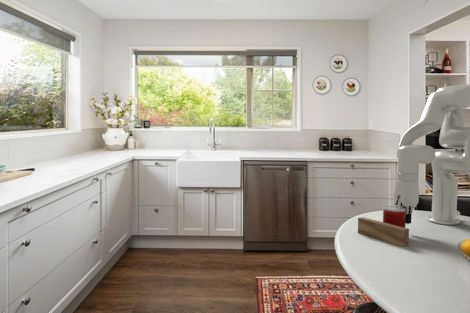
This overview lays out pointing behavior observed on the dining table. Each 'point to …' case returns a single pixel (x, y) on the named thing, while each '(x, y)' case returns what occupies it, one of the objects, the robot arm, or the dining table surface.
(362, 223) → the walnut board
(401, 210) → the canned food
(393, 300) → the dining table surface
